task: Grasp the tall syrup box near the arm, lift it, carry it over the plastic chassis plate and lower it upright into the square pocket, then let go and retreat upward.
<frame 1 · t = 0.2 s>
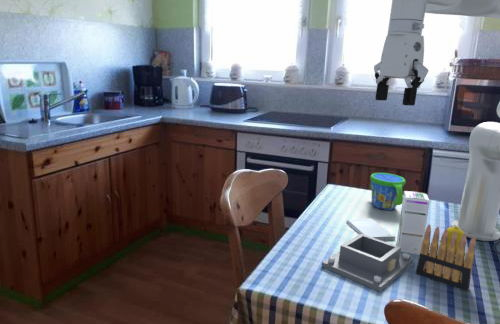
hand: (394, 102, 101), 36 cm above the table, tool pointing down, fingers open, 9 cm apart
ammunition clip: (441, 281, 90), on the table
lemon: (450, 257, 102), on the table
chassis: (368, 265, 95), on the table
snack cup: (383, 207, 135), on the table
hard drive: (369, 233, 115), on the table
syrup box: (408, 249, 105), on the table
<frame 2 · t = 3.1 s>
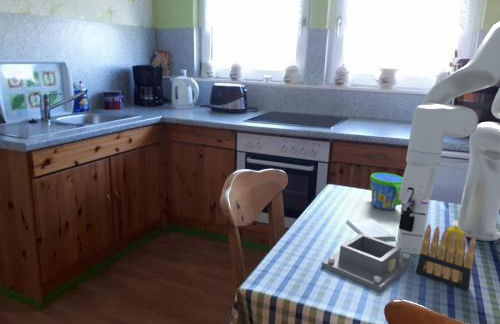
hand: (412, 225, 103), 6 cm above the table, tool pointing down, fingers closed on syrup box, 7 cm apart
syrup box: (408, 249, 105), on the table, touching gripper
everything else where it was.
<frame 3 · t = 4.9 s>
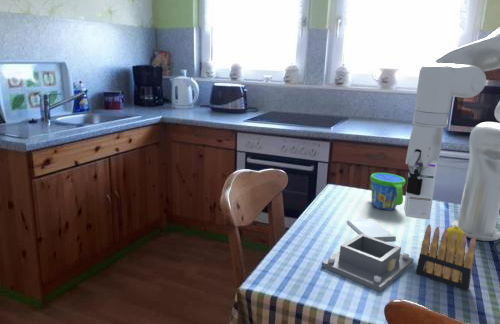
hand: (419, 189, 101), 16 cm above the table, tool pointing down, fingers closed on syrup box, 7 cm apart
syrup box: (416, 214, 103), point 9 cm above the table, touching gripper
everything else where it was.
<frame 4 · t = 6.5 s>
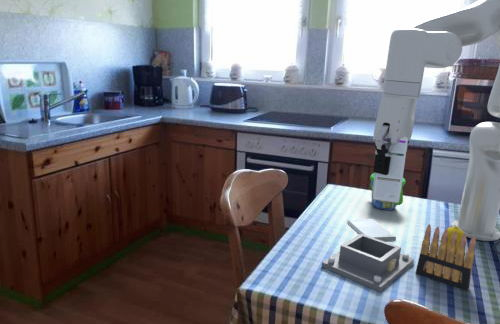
hand: (389, 170, 91), 22 cm above the table, tool pointing down, fingers closed on syrup box, 7 cm apart
syrup box: (384, 198, 93), point 16 cm above the table, touching gripper
everything else where it was.
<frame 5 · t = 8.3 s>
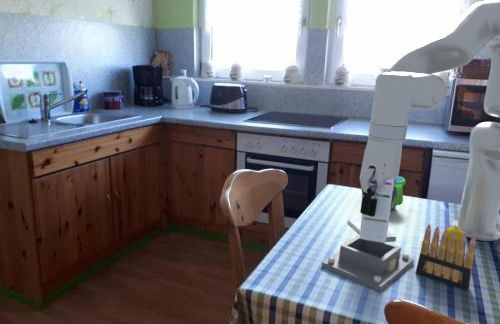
hand: (376, 209, 92), 14 cm above the table, tool pointing down, fingers closed on syrup box, 7 cm apart
syrup box: (372, 237, 93), point 7 cm above the table, touching gripper
everything else where it was.
when the fingers open (9 cm above the table, at t = 9.8 s): syrup box drops 1 cm, resting on chassis.
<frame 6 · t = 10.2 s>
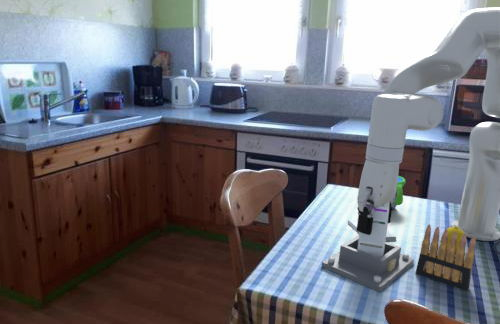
hand: (373, 226, 93), 10 cm above the table, tool pointing down, fingers open, 9 cm apart
syrup box: (368, 261, 95), point 1 cm above the table, touching chassis
everything else where it was.
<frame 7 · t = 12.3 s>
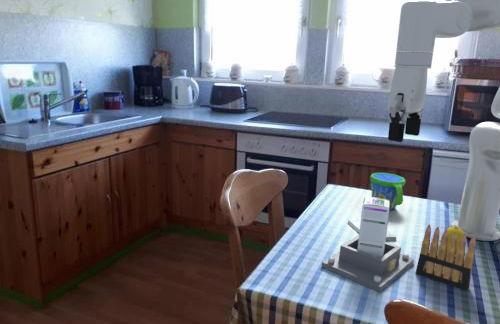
hand: (403, 137, 95), 29 cm above the table, tool pointing down, fingers open, 9 cm apart
nothing on the table moved.
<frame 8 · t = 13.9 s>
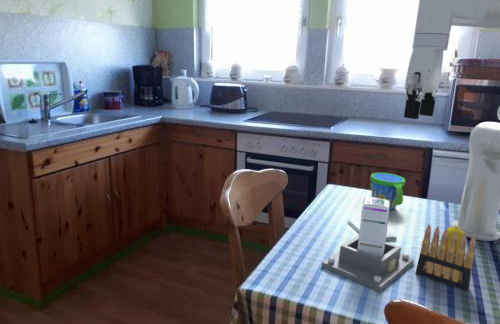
hand: (418, 116, 99), 33 cm above the table, tool pointing down, fingers open, 9 cm apart
nothing on the table moved.
at the end: syrup box 0.2 cm off-centre on the chassis, point 1.0 cm above the chassis's base; syrup box tilted 0°; the gripper is holding nothing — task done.
